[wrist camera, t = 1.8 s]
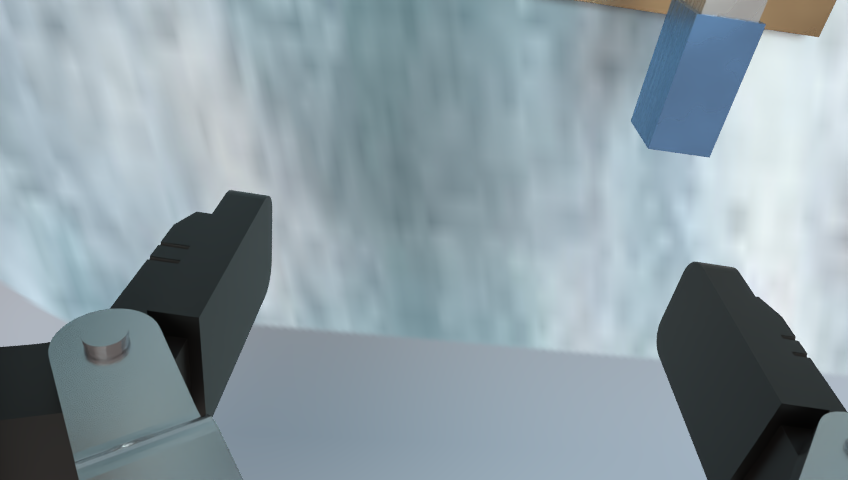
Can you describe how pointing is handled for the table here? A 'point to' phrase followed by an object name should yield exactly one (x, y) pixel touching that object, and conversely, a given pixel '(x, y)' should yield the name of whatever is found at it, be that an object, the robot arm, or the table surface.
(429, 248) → the table surface
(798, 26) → the valve
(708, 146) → the lever
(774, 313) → the robot arm
